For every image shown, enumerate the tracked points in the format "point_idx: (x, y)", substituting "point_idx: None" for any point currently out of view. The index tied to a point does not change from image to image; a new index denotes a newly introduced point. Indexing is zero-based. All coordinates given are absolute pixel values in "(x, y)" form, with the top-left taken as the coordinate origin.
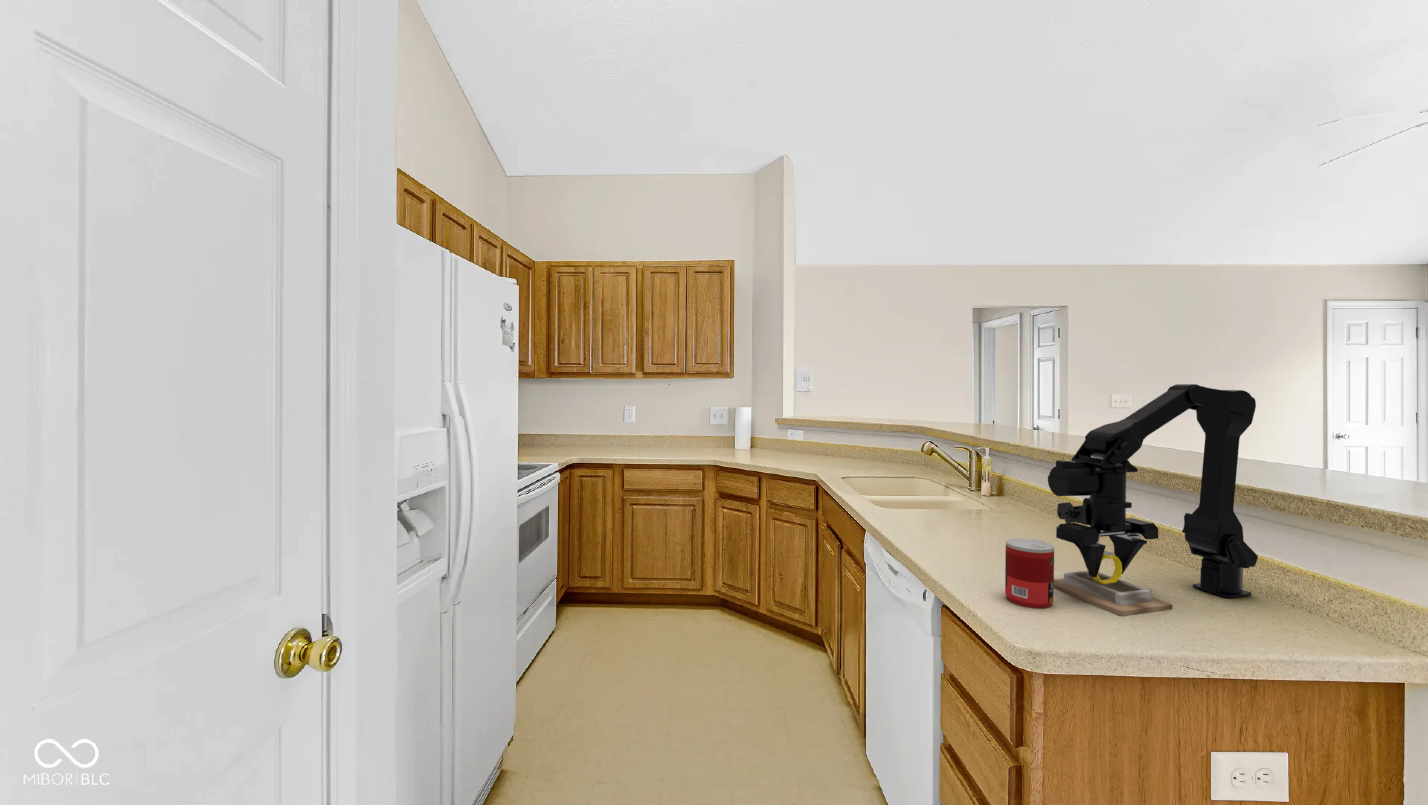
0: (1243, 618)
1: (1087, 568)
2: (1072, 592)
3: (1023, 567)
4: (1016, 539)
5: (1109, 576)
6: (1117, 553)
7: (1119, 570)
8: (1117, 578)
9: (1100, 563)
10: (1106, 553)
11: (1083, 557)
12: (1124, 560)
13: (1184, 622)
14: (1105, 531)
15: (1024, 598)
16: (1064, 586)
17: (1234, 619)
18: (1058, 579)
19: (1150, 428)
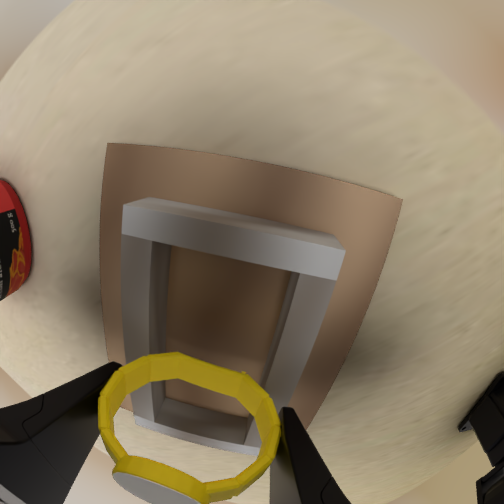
0: (354, 475)
1: (85, 376)
2: (101, 277)
3: None
4: None
5: (305, 351)
6: (289, 499)
7: (262, 437)
8: (247, 408)
9: (89, 447)
10: (151, 496)
11: (37, 399)
12: (272, 490)
13: (228, 460)
14: None
15: None
16: (115, 228)
17: (335, 475)
18: (169, 150)
19: None
